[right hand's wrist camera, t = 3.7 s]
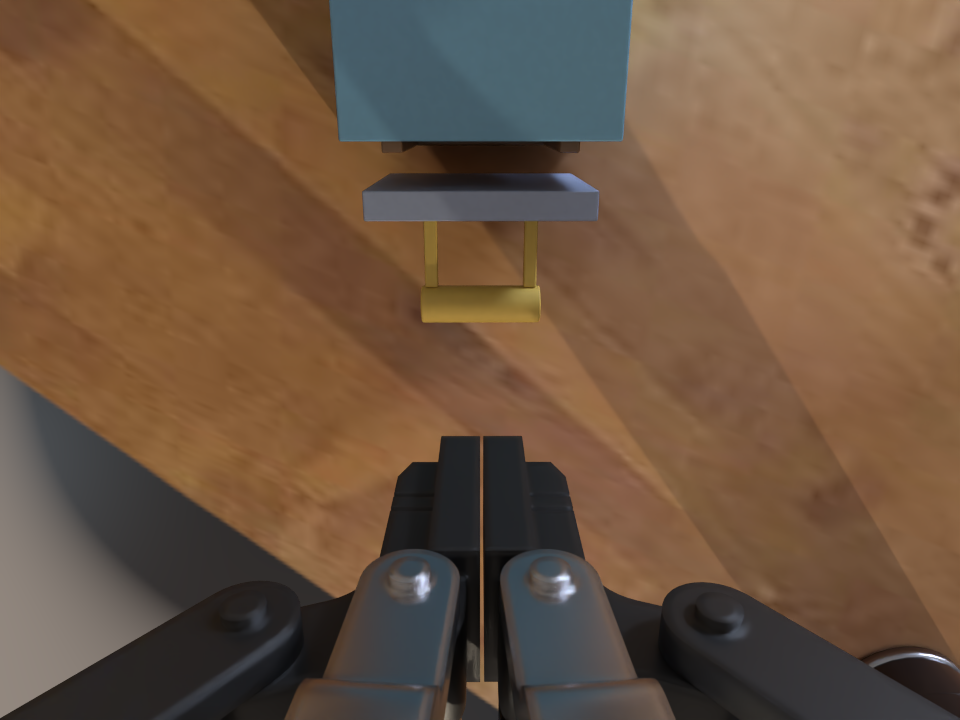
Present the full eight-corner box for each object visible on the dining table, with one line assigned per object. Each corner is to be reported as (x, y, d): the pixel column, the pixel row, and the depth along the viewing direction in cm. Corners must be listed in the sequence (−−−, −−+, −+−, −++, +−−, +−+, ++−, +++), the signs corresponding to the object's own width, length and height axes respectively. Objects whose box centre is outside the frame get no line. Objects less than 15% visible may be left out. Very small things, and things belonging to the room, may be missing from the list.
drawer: (565, 298, 37) (590, 349, 29) (395, 298, 37) (371, 349, 29) (593, -304, 28) (639, -476, 20) (367, -304, 28) (322, -475, 20)
